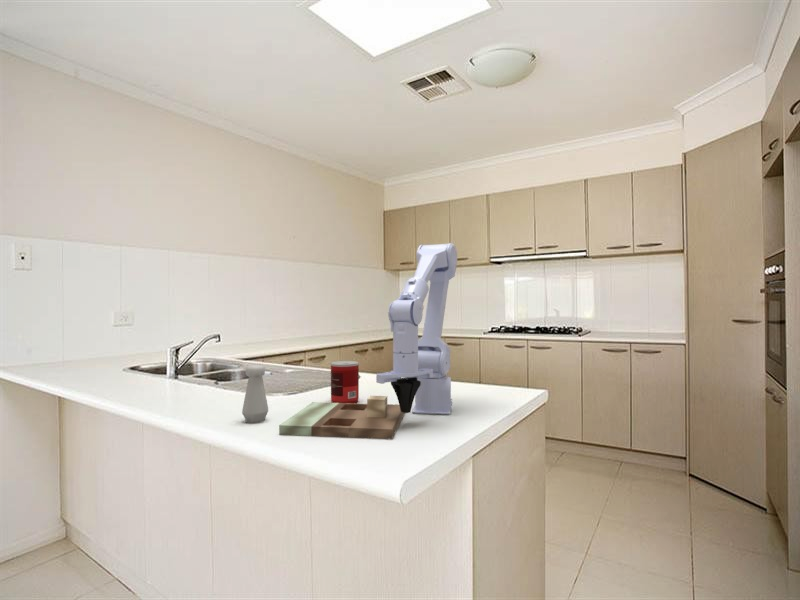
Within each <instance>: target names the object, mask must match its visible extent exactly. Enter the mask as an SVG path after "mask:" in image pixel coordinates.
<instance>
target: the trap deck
mask: <svg viewBox="0 0 800 600" xmlns="http://www.w3.org/2000/svg"><path fill="white" fill-rule="evenodd" d="M404 415H405V413H403V412H401V410H400V405H399V404H391V403H390V404H388V403H387V415H386V416H385V418H382V417H367V403H358V402H357V403H332V402H324V401H323V402H322V401H321V402H316V401H312V402H311V403H309V404H308V405H306V406H305V407H303V408H301V409H300V410H299V411H298V412H296V413H295V414H294V415H292V416H290V417H289V418H288V419H286V420H285V421H283V422H281V424H279V425H278V430H279V431H278V434H279V436H302V437H303V436H304V437H305V436H306V437H325V438H326V437H330V438H349V439H351V438H353V439H378V440H379V439H380V440H381V439H383V440H393V438H394V436H395V434H396V432H397V429H398V427H399V425H400V424H401V421H402V419H403V417H404Z"/></svg>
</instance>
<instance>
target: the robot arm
mask: <svg viewBox="0 0 800 600" xmlns="http://www.w3.org/2000/svg"><path fill="white" fill-rule="evenodd" d="M416 262H417V266H416V268H415V272H414V274H413V277H409V278H408V279H407V281H406V282H405V284H404V286H403V288H402V291H401V292H400V294H399V297H398V298H397V299H395V300H394V301H391V303H390V304H389V307H388V312H387V313H388V320H389V324H390V330H391V332H392V370H391V371H386V372H381V373H376V377H375V380H376V383H377V384H381V385H382V384H386V383H390V385H391V387H392V388H393V390H394V393H395V395H396V399H397V402H398V405H400V410H401V412H403V413H404V414H409V413H412V414H428V415H431V414H432V415H451V411H452V407H453V398H451V397H452V393H451V392H452V388H451V387H452V380H451V379H452V377H451V376H446V375H447V374H448V373H449V371H450V368H451V349H450V347H449V345H448V344H447V343H446V342H445V341H444V340H443V339H442V334H443V326H444V320H445V319H444V317H445V312H446V311H445V310H446V305H447V298H448V289H449V284H450V280H452V278H454V277H455V276H456V271H457V264H458V252H457V248H456V246H455V245H454V243H453V242H449V243H439V244H420V245H419V246H418V247H417V249H416ZM429 282H430V283H429ZM428 283H429V284H428ZM427 296H428V297H427ZM426 298H427V302H426V310H425V317H424V323H423V331H422V336H421V337H420V338H419V325H420V324H421V323H422V319H423V316H424V315H423V312H424V307H425V306H424V302H425V300H426ZM414 399H415V400H414ZM413 403H414V407H412V406H413ZM412 408H413V409H412Z"/></svg>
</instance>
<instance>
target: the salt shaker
mask: <svg viewBox="0 0 800 600" xmlns="http://www.w3.org/2000/svg"><path fill="white" fill-rule="evenodd" d="M265 374H266V369H265V366H264V365H260V364H253V365H252V364H251V365H248V366H247V367H246V368H245V376H246V377H247V378H248V379H247V386H246V389H245V395H244V401H243V405H242V411H241V413H242V415H243V418H244V419H245V421H246V423H248V424H257V423H262V422H265V420H266V418H267V415H268V412H269V406H268V400H267V396H266V390H265V385H264V380H263V379H264V378H263V376H264V375H265Z"/></svg>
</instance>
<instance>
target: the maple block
mask: <svg viewBox="0 0 800 600" xmlns="http://www.w3.org/2000/svg"><path fill="white" fill-rule="evenodd" d="M366 404H367V417H382V418H385V416H386V415H387V404H388V396H387V395H370V396H368V398H367V399H366Z"/></svg>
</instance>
